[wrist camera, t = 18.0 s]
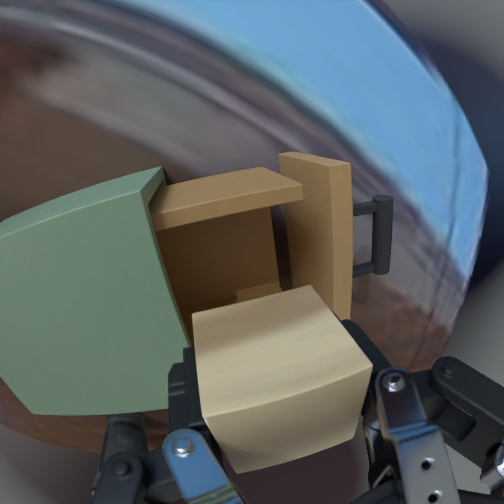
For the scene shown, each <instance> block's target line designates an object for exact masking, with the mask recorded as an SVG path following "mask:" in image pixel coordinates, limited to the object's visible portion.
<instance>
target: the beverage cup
mask: <svg viewBox="0 0 504 504" xmlns="http://www.w3.org/2000/svg"><path fill="white" fill-rule="evenodd" d="M117 452H129V453H132V454H134V455H135V456H136V457H137V456H140V455H143V454H145V453H148V443H147V433H146V427H145V418H144V417H143V415H141V414H140V413H139V412H132V413H119V414H110V418H109V421H108V423H107V427H106V431H105V436H104V441H103V445H102V450H101V455H100V460H99V466H98V472H97V475H96V476H95V480H94V483H93V488H92V489H91V492H92V497H93V494H94V491H95V488H96V486H97V483H98V480H99V477H100V475H101V472H102V469H103V467H104V464H105V462H106V460H107V459H108V458H109V457H110V456H111V455H113V454H115V453H117Z"/></svg>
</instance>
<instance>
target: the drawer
mask: <svg viewBox="0 0 504 504" xmlns="http://www.w3.org/2000/svg"><path fill="white" fill-rule="evenodd" d="M278 160H279V168H280V174H278V173H276V172H273V171H271V170H269V169H266V168H264V167H256V168H250V169H245V170H239V171H234V172H228V173H223V174H218V175H213V176H208V177H203V178H199V179H194V180H190V181H185V182H181V183H176V184H172V185H168V186H164V187H160V188H157V190H156V191H155V193H154V195H153V196H152V198H151V200H150V202H149V203H148V207H149V211H150V215H151V219H152V223H153V227H154V230H155V234H156V237H157V241H158V245H159V248H160V251H161V255H162V258H163V262H164V265H165V268H166V271H167V275H168V278H169V281H170V284H171V287H172V290H173V293H174V296H175V299H176V302H177V305H178V308H179V311H180V314H181V317H182V320H183V322H184V325H185V328H186V331H187V333H188V336H189V339H190V341H191V344H192V346H194V335H193V321H192V314H193V313H196V312H200V311H205V310H209V309H214V308H218V307H223V306H227V305H231V304H235V303H240V302H244V301H248V300H252V299H256V298H260V297H264V296H268V295H272V294H276V293H280V292H283V291H282V289H281V287H280V284H279V276H278V267H277V258H276V250H275V242H274V234H273V226H272V218H271V210H270V206H276V205H281V204H284V210H285V219H286V229H287V238H288V248H289V258H290V269H291V280H292V289H295V288H299V287H303V286H307V285H311V286H312V287H313V288H314V290H315V291H316V292H317V293H318V295H319V296H320V297H321V298H322V300H323V301H324V302H325V303H326V305H327V306H328V307H329V309H330V310H331V311H333V312H334V313H335V314H336V315H337V316H338V318H339V319H340V320H344V319H349V320H350V312H351V296H352V278H356V277H359V276H362V275H365V274H369V273H372V272H373V273H375V274H378V275H384V274H387V273H388V272H389V267H390V255H391V242H392V222H393V198H392V197H391V196H388V195H376V196H373V201H370V202H365V203H359V204H354V205H353V200H352V178H351V164H350V163H347V162H343V161H338V160H334V159H329V158H324V157H319V156H314V155H309V154H303V153H298V152H286V153H279V154H278ZM368 213H373V230H372V257H371V261H370V262H366V263H363V264H360V265H356V266H353V216H358V215H363V214H368Z"/></svg>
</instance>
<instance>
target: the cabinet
mask: <svg viewBox="0 0 504 504" xmlns="http://www.w3.org/2000/svg"><path fill="white" fill-rule="evenodd" d="M164 186H167V185H166V180H165V176H164V171H163V167H162V166H160V167H156V168H152V169H148V170H144V171H141V172H137V173H133V174H130V175H126V176H123V177H119V178H116V179H112V180H109V181H106V182H103V183H99V184H96V185H93V186H90V187H87V188H84V189H81V190H78V191H75V192H72V193H69V194H67V195H64V196H61V197H58V198H56V199H53V200H50V201H48V202H45V203H43V204H40V205H38V206H35V207H33V208H30V209H28V210H25V211H23V212H21V213H18V214H16V215H14V216H11V217H9V218H7V219H6V220H4V221H2V222H1V223H0V376H1V378H2V379H3V380H4V382H5V383H6V384H7V385H8V387H9V388H10V389H11V390H12V391H13V393H14V394H15V395H16V396H17V397H18V399H19V400H20V401H21V402H22V403H23V404H24V405H25V406H26V408H27V409H28V410H29V411H30V412H31V413H32V414H43V415H103V414H119V413H132V412H142V411H151V410H159V409H167V408H168V397H169V396H168V373H169V371H170V369H171V367H172V365H173V364H174V363H179V362H183V348H186V347H191V346H192V344H191V341H190V339H189V336H188V333H187V331H186V328H185V325H184V322H183V320H182V317H181V314H180V311H179V308H178V305H177V302H176V299H175V296H174V293H173V290H172V287H171V284H170V281H169V278H168V275H167V271H166V268H165V265H164V262H163V258H162V255H161V251H160V248H159V245H158V241H157V237H156V234H155V230H154V227H153V223H152V219H151V215H150V211H149V207H148V203H149V202H150V200H151V198H152V196H153V195H154V193H155V191H156V190H157V188H160V187H164Z"/></svg>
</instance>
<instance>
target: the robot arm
mask: <svg viewBox="0 0 504 504" xmlns="http://www.w3.org/2000/svg"><path fill="white" fill-rule="evenodd" d="M332 312H333V311H332ZM333 314H334V315H335V316H336V317H337V319H338V320H339V321H340V323H341V324H342V325H343V326H344V328H345V329H346V330H347V332H348V333H349V334H350V335H351V337H352V338H353V339H354V341H355V342H356V343H357V344H358V346H359V347H360V348H361V350H362V351H363V352H364V354H365V355H366V356H367V358H368V359H369V360H370V361H371V363H372V364H373V368H372V373H371V377H370V381H369V385H368V389H367V393H366V397H365V400H364V404H363V408H362V411H361V414H362V416H363V417H364V418H363V430H364V435H365V441H366V448H367V454H368V461H369V471H368V487H369V491H368V492H365V493H364V494H362V495H361V496H359V497H358V498H357V499H355V500H354V501H353V502H351V503H350V504H504V387H503V386H501V385H499V384H498V383H496V382H494V381H493V380H491V379H490V378H488V377H486V376H485V375H483V374H481V373H480V372H478V371H476V370H475V369H473V368H471V367H470V366H468V365H467V364H465V363H463V362H462V361H460V360H458V359H456V358H454V357H448V356H447V357H442V358H439V359H438V360H437V361H435V363H434V365H433V367H432V369H429V370H425V371H420V372H414V373H409V372H408V371H406V370H405V369H403V368H400V367H393V366H392V365H391V364H390V363H389V362H388V361H387V359H386V358H385V357H384V356H383V354H382V353H381V352H380V351H379V350H378V348H377V347H376V346H375V345H374V344H373V342H372V341H370V339H369V338H368V336H367V335H366V334H365V333H364V332H363V330H362V329H361V328H360V327H359V326H358V324H356V323H354V322H352V321H350V320H349V319H344V320H340V319H339V318H338V316H337V315H336V314H335V313H334V312H333ZM168 396H169V397H168V415H169V433H168V436H167V437H166V438H165V439H164V441H163V444H162V445H161V446H160V447H158V448H157V449H155V450H153V451H150V452H148V453H145V454H143V455H140V456H137V457H136V456H135V455H134V454H132V453H129V452H117V453H115V454H113V455H111V456H110V457H109V458H108V459H107V460H106V462H105V464H104V467H103V469H102V472H101V475H100V477H99V480H98V483H97V486H96V488H95V491H94V494H93V497H92V500H91V503H90V504H174V501H175V500H177V499H179V498H182V497H183V498H184V500H185V502H186V504H248V502H247V501H246V500H245V498H244V497H243V496H242V494H241V493H240V491H239V490H238V488H237V487H236V485H235V484H234V482H233V481H232V479H231V478H230V476H229V475H228V473H227V472H226V470H225V469H224V464H223V459H222V455H221V454H223V451H222V450H221V448H220V446H219V445H218V443H217V441H216V440H215V438H214V436H213V435H212V433H211V431H210V429H209V428H208V426H207V424H206V422H205V420H204V419H203V417H202V411H201V403H200V395H199V386H198V377H197V368H196V358H195V347H194V346H191V347H186V348H183V362H179V363H174V364H173V365H172V367H171V369H170V371H169V373H168ZM451 402H452V403H453V404H452V403H451ZM454 404H455V405H456V406H455V405H454ZM457 406H458V407H460V408H461V409H462V410H461V409H460V408H458V407H457ZM463 410H464V411H465V412H464V411H463ZM466 412H467V413H469V414H470V415H471V416H470V415H469V414H467V413H466ZM472 416H473V417H472ZM445 443H446V444H447V445H449V446H450V447H452V448H453V449H455V450H456V451H457V452H458V453H460V454H461V455H463V456H464V457H466V458H467V459H468V460H470V461H472V462H473V463H474V464H476V465H477V466H479V467H480V468H481V469H482V470H481V475H480V481H481V482H482V483H487V484H488V486H489V488H490V495H488V494H482V493H476V492H470V491H465V490H460V489H457V486H456V482H455V478H454V474H453V470H452V466H451V462H450V459H449V455H448V452H447V449H446V445H445Z"/></svg>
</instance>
